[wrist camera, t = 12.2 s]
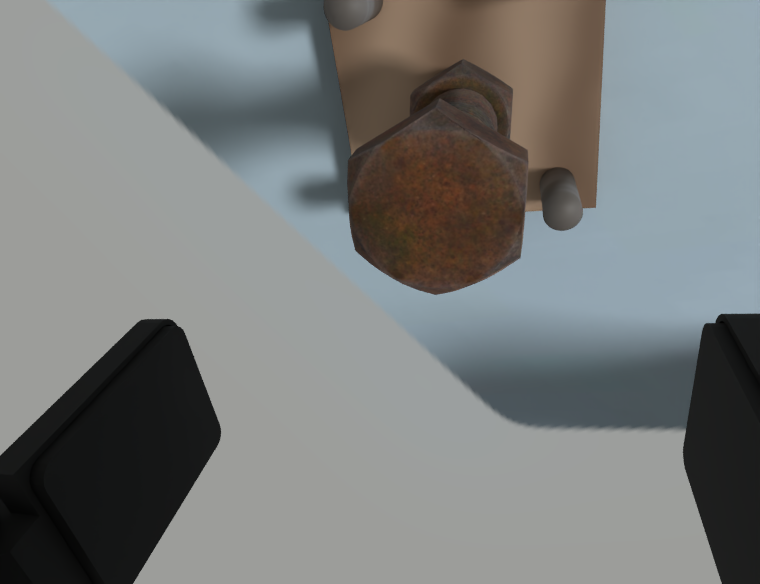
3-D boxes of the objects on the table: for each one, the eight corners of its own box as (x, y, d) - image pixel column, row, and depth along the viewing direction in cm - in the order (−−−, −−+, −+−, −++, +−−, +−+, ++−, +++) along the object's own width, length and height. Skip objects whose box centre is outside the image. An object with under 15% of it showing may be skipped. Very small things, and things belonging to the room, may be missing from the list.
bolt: (442, 167, 31) (395, 318, 18) (393, 84, 29) (304, 188, 16) (542, 112, 28) (569, 243, 16) (496, 18, 26) (484, 80, 14)
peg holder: (604, -78, 25) (625, -84, 20) (592, 197, 31) (606, 239, 27) (328, -30, 28) (292, -26, 24) (368, 210, 35) (346, 251, 30)
